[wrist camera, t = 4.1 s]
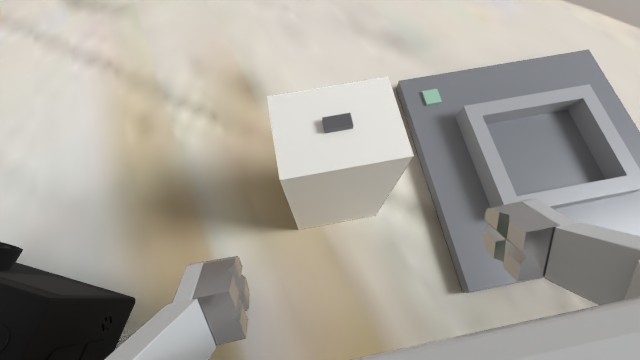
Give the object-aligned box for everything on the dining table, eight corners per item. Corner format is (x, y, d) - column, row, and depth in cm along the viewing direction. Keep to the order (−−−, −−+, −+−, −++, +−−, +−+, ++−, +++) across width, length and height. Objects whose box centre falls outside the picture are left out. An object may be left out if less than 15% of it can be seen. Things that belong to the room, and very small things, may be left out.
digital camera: (147, 280, 21) (65, 272, 14) (107, 371, 19) (-6, 410, 12) (11, 241, 22) (-124, 216, 15) (-39, 323, 20) (-215, 336, 13)
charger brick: (362, 164, 23) (389, 71, 14) (375, 215, 22) (415, 152, 12) (290, 177, 23) (265, 91, 14) (298, 230, 22) (278, 177, 12)
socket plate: (579, 58, 27) (604, 35, 24) (691, 245, 21) (737, 239, 19) (396, 88, 26) (403, 67, 23) (463, 292, 20) (481, 292, 18)
